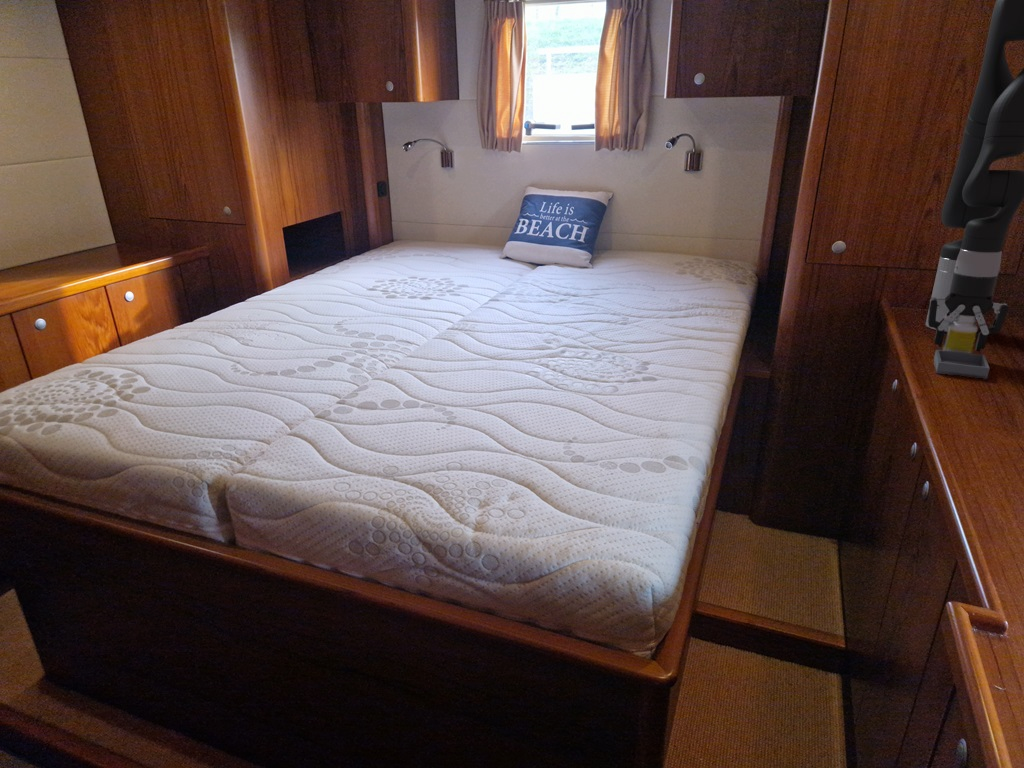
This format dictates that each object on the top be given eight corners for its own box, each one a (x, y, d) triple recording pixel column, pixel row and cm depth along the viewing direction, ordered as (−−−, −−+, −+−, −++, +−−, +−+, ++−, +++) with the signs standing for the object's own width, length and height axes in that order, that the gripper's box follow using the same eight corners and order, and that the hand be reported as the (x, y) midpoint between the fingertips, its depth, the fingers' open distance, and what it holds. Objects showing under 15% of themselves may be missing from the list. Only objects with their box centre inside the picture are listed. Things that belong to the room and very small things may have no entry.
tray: (933, 360, 142) (935, 349, 141) (981, 365, 138) (984, 354, 137) (936, 373, 135) (938, 362, 134) (986, 379, 131) (989, 368, 130)
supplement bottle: (975, 362, 140) (986, 317, 136) (946, 361, 141) (956, 317, 137) (964, 354, 145) (974, 310, 141) (937, 353, 146) (946, 310, 142)
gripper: (1015, 270, 136) (995, 347, 142) (934, 265, 142) (918, 339, 148) (1021, 278, 130) (1000, 358, 136) (936, 272, 136) (920, 349, 142)
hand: (957, 348), depth 142 cm, fingers open, 6 cm apart
